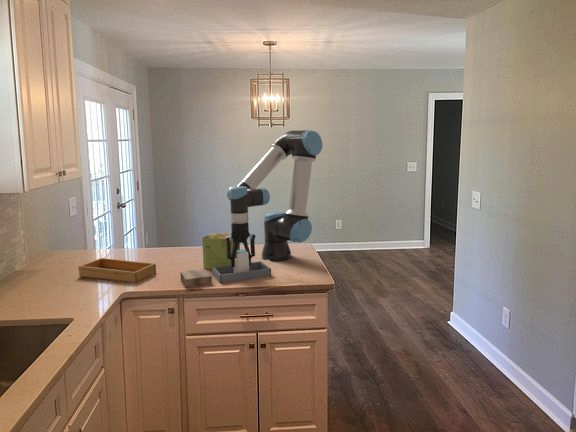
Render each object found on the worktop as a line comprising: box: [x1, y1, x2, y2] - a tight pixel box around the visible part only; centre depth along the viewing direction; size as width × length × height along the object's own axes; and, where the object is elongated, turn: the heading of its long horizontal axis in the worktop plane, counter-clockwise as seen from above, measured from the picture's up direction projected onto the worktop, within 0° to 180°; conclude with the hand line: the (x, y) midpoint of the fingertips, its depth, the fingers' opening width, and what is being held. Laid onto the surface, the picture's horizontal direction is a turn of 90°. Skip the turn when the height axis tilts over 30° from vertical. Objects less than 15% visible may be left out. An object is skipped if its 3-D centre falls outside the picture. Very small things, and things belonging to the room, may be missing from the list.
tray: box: [78, 257, 157, 284], centre depth 222 cm, size 31×15×6 cm, turn 70°
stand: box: [180, 268, 213, 289], centre depth 209 cm, size 11×12×4 cm
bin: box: [211, 261, 272, 284], centre depth 216 cm, size 23×14×4 cm, turn 112°
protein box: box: [201, 233, 241, 270], centre depth 231 cm, size 10×15×16 cm
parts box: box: [235, 248, 249, 273], centre depth 216 cm, size 5×6×11 cm
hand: (241, 272), depth 217 cm, fingers closed on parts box, 5 cm apart
